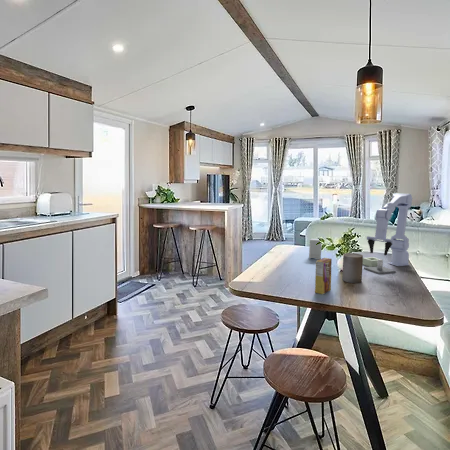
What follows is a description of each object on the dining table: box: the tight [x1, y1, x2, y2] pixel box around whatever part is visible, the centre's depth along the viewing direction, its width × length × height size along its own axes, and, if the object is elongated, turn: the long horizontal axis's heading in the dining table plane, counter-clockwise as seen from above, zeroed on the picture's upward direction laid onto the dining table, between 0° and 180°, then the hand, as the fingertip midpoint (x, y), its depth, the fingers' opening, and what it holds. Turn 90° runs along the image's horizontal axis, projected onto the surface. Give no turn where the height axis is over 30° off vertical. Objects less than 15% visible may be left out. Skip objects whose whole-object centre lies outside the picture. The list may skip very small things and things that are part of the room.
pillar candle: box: [341, 252, 364, 284], centre depth 188 cm, size 10×10×15 cm
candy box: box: [314, 257, 333, 295], centre depth 170 cm, size 9×4×15 cm, turn 140°
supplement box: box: [308, 238, 322, 260], centre depth 240 cm, size 7×7×13 cm
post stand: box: [363, 258, 397, 275], centre depth 209 cm, size 12×12×6 cm
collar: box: [362, 256, 379, 267], centre depth 222 cm, size 8×8×4 cm
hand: (378, 254), depth 205 cm, fingers open, 7 cm apart
